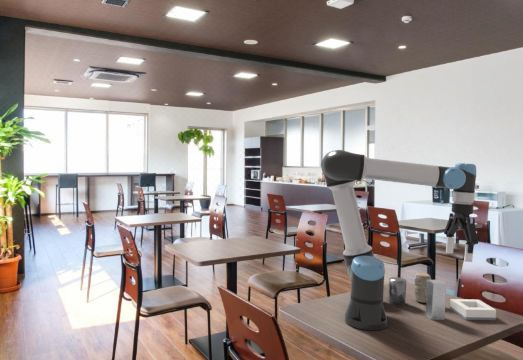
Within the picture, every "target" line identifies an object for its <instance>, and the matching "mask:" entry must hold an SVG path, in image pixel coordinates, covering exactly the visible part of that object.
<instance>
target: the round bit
mask: <svg viewBox="0 0 523 360" xmlns="http://www.w3.org/2000/svg"><path fill="white" fill-rule="evenodd" d="M406 297H407V279H405V278H403V277H397V276H395V277H393V276H392V277H389V278H388V296H387V303H388V304H389V305H391V306H397V307H398V306H399V307H402V306H405V305H406Z"/></svg>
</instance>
